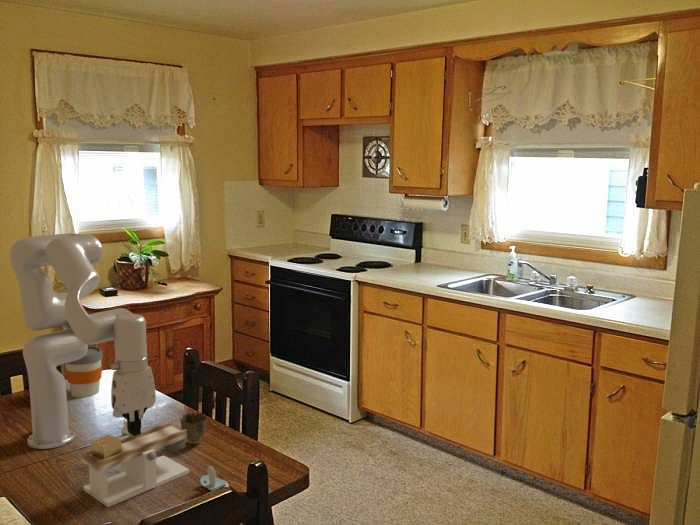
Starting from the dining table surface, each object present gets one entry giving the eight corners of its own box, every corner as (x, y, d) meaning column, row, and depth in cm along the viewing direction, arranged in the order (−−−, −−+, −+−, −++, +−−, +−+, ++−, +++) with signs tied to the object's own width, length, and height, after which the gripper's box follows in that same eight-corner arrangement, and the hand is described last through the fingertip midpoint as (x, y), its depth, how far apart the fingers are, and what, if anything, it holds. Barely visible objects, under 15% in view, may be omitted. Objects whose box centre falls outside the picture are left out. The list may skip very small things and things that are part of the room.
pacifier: (217, 479, 171) (197, 486, 167) (217, 456, 170) (197, 463, 166) (234, 489, 166) (214, 497, 162) (234, 465, 165) (214, 473, 161)
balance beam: (98, 483, 156) (97, 463, 155) (82, 472, 161) (80, 452, 160) (187, 448, 175) (186, 429, 174) (170, 439, 180) (169, 421, 179)
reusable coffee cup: (80, 402, 221) (77, 359, 218) (58, 394, 228) (55, 352, 225) (112, 391, 231) (109, 350, 229) (89, 383, 238) (87, 343, 235)
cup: (200, 450, 187) (200, 423, 185) (176, 447, 188) (175, 421, 187) (211, 438, 194) (210, 413, 193) (188, 436, 195) (187, 411, 194)
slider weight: (91, 457, 160) (90, 441, 160) (109, 449, 164) (108, 434, 164) (104, 462, 158) (103, 447, 157) (122, 454, 162) (121, 439, 161)
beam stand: (110, 508, 156) (108, 469, 154) (81, 488, 165) (79, 451, 163) (191, 474, 173) (190, 438, 171) (161, 457, 182) (160, 423, 180)
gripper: (111, 375, 156) (114, 448, 159) (166, 360, 167) (168, 429, 170) (95, 367, 160) (99, 438, 164) (150, 354, 171) (152, 420, 175)
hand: (134, 433), depth 167 cm, fingers closed
